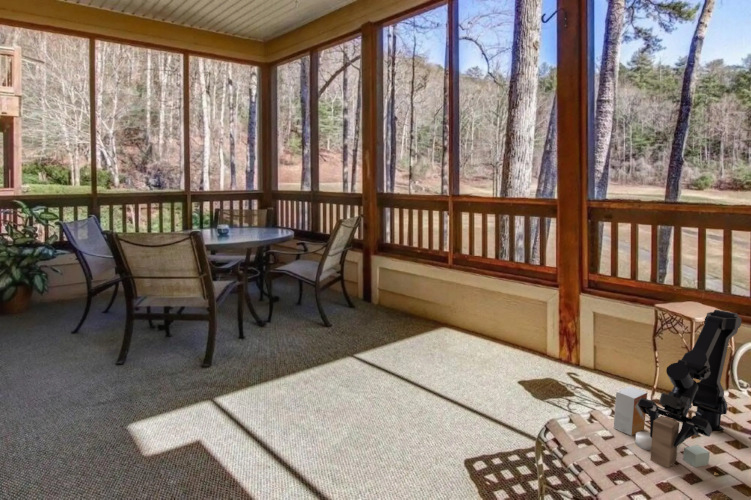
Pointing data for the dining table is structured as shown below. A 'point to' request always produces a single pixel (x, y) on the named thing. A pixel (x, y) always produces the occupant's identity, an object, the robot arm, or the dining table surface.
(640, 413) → the small box
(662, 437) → the walnut block
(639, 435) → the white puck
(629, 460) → the dining table surface
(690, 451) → the sage block
